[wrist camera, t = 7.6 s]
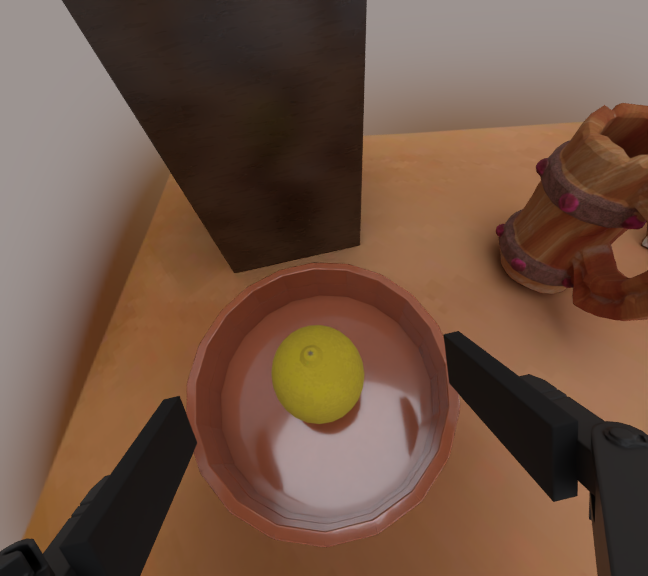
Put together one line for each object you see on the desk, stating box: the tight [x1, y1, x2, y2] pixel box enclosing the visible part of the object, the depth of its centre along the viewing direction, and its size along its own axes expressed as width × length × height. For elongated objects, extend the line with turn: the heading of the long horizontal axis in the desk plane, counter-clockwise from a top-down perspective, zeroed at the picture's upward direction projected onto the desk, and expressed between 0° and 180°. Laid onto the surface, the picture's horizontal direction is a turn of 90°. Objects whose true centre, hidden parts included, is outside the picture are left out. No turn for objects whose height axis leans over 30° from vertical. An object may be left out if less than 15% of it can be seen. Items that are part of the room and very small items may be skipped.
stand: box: [62, 0, 367, 273], centre depth 23 cm, size 12×12×20 cm
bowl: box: [187, 263, 460, 547], centre depth 20 cm, size 16×16×4 cm
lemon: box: [271, 325, 364, 424], centre depth 19 cm, size 6×6×8 cm
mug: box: [496, 103, 648, 321], centre depth 19 cm, size 12×7×13 cm, turn 2°
